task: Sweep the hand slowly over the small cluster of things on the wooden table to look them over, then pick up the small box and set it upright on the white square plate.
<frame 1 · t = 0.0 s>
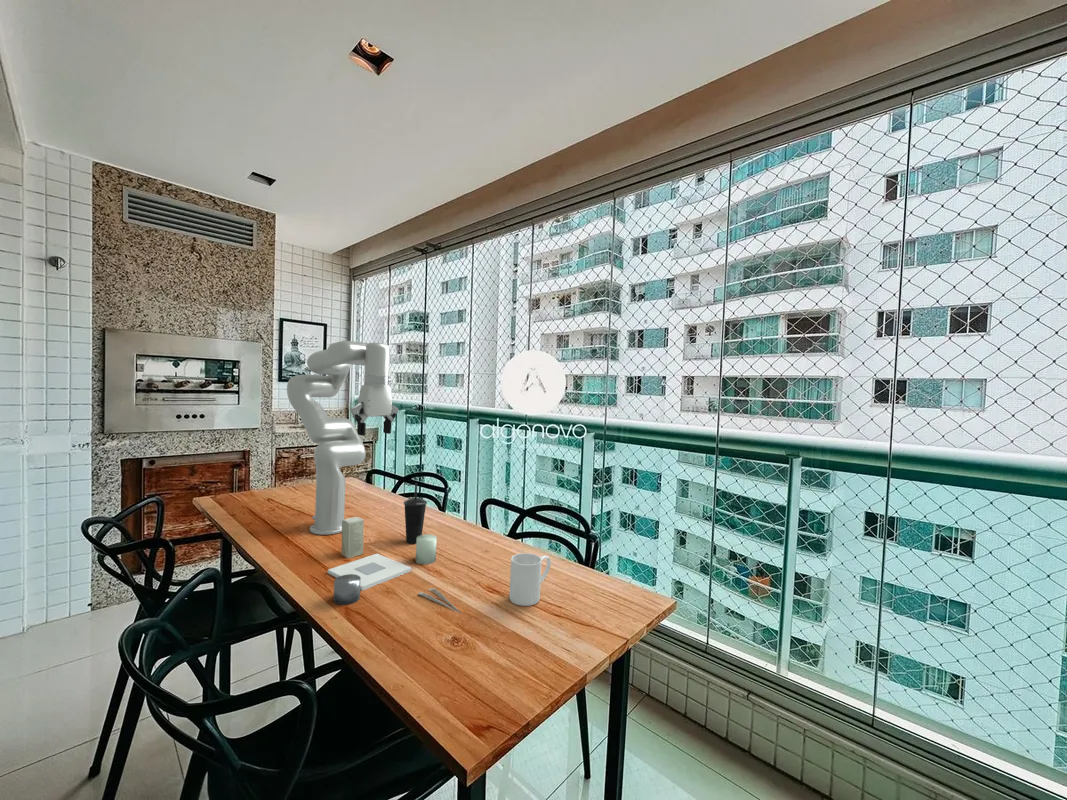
hand: (374, 434, 145), 37 cm above the table, tool pointing down, fingers open, 9 cm apart
white square plate: (370, 572, 126), on the table
drinking cup: (413, 542, 152), on the table
tweezers: (445, 607, 111), on the table
mug: (530, 597, 117), on the table
pale green capsule: (425, 560, 137), on the table
box: (351, 555, 138), on the table
dark tin: (346, 599, 111), on the table
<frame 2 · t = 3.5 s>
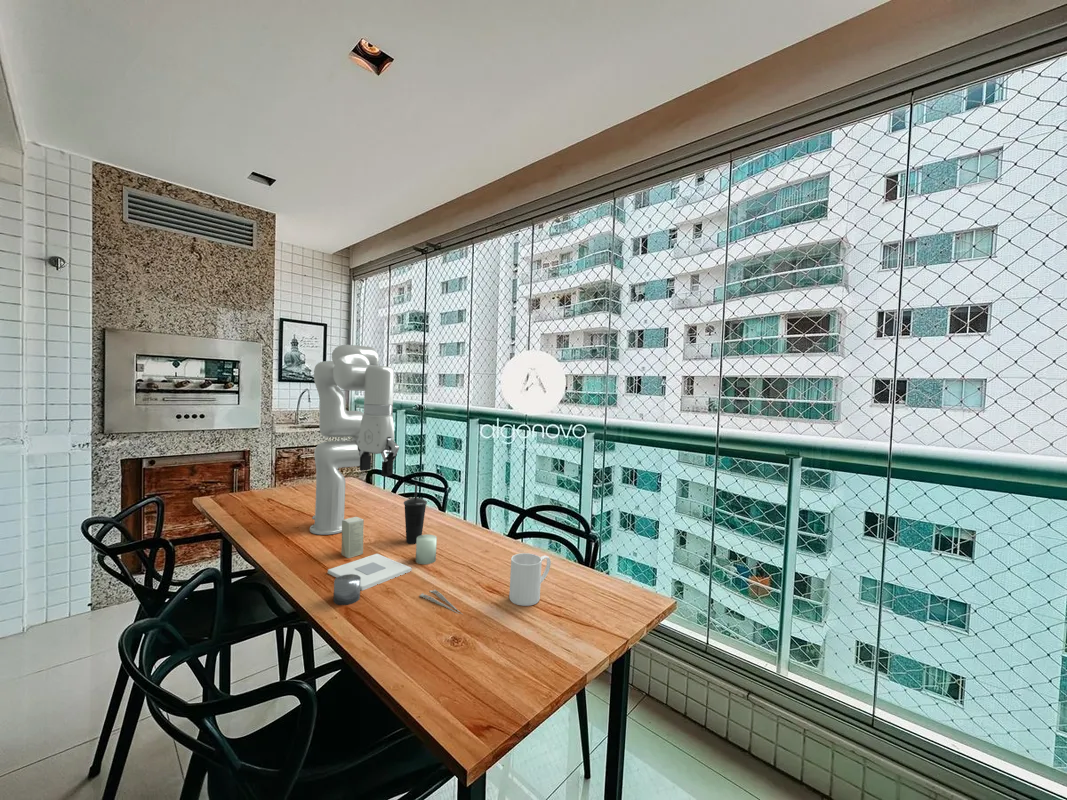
hand: (375, 472, 123), 29 cm above the table, tool pointing down, fingers open, 9 cm apart
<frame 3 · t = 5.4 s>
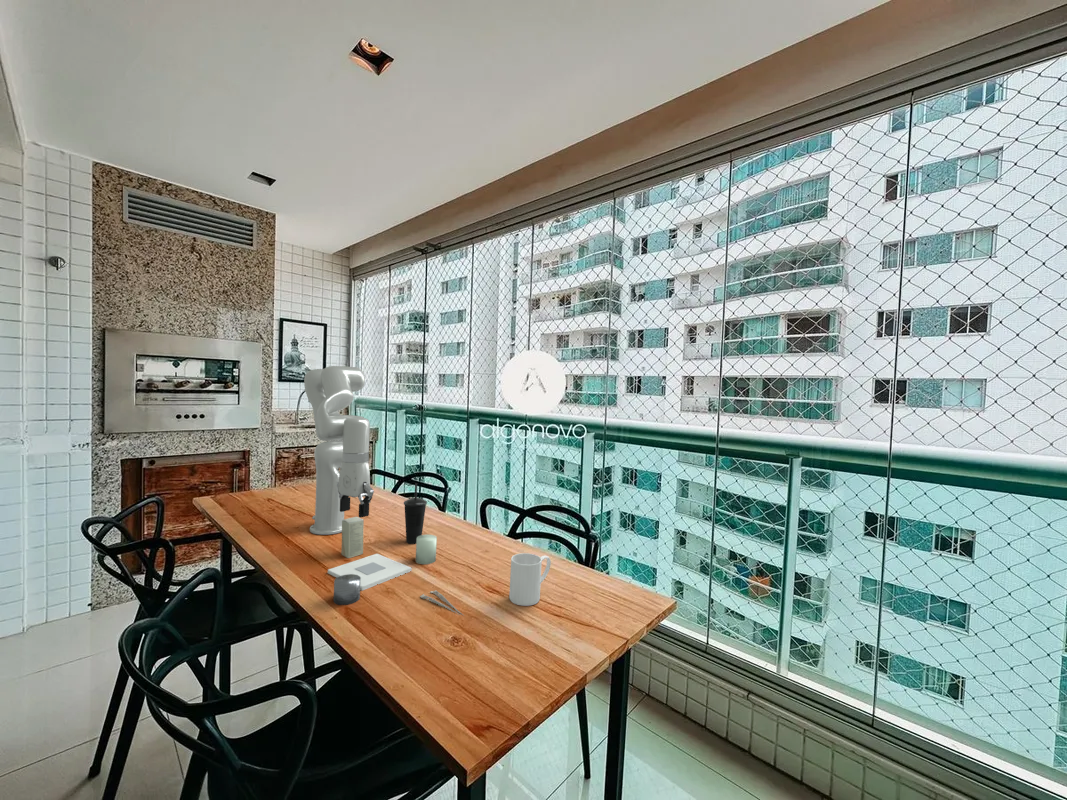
hand: (354, 513, 137), 13 cm above the table, tool pointing down, fingers open, 9 cm apart
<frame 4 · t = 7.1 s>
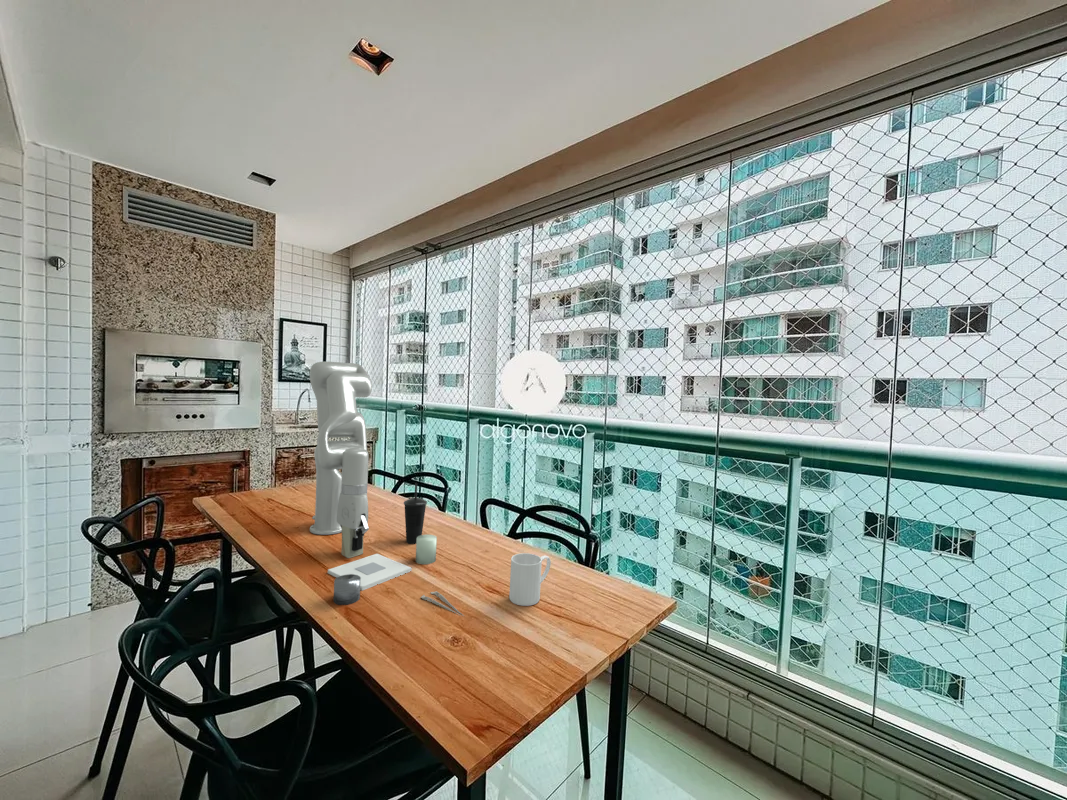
hand: (352, 546, 138), 2 cm above the table, tool pointing down, fingers closed on box, 4 cm apart
box: (351, 555, 138), on the table, touching gripper
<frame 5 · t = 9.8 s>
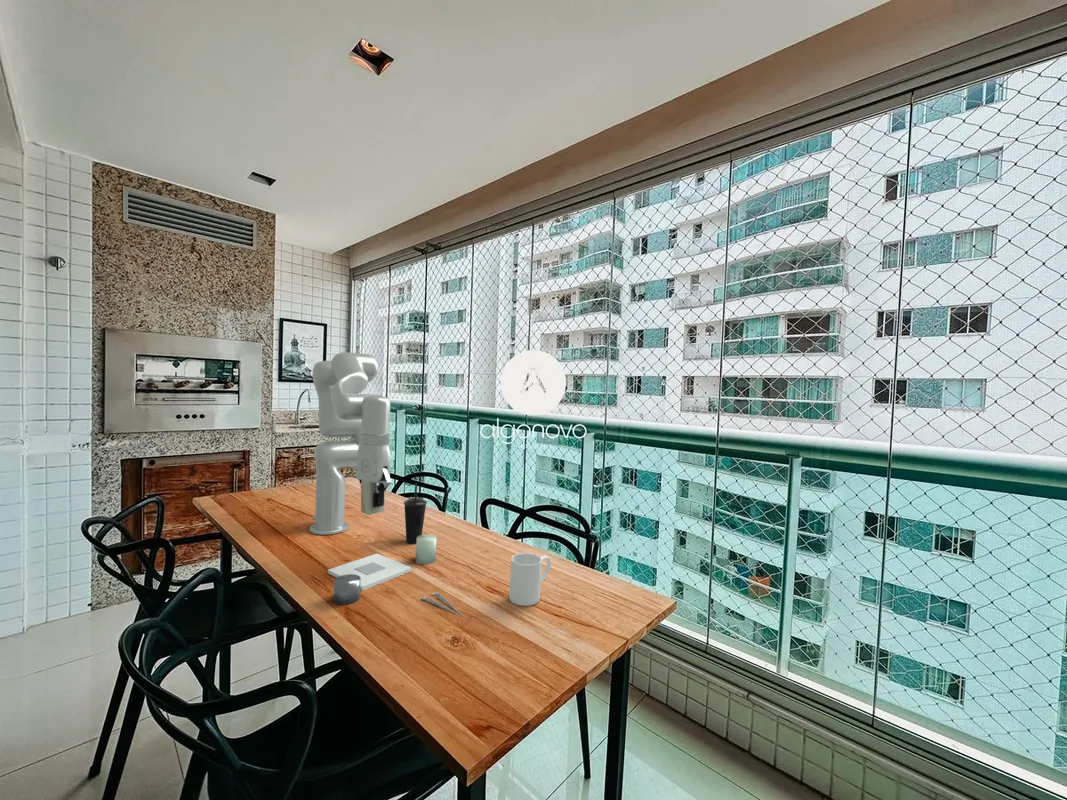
hand: (372, 503, 126), 19 cm above the table, tool pointing down, fingers closed on box, 4 cm apart
box: (372, 512, 126), point 17 cm above the table, touching gripper
when the fingers open (5 cm above the table, at t = 12.9 s): box drops 1 cm, resting on white square plate.
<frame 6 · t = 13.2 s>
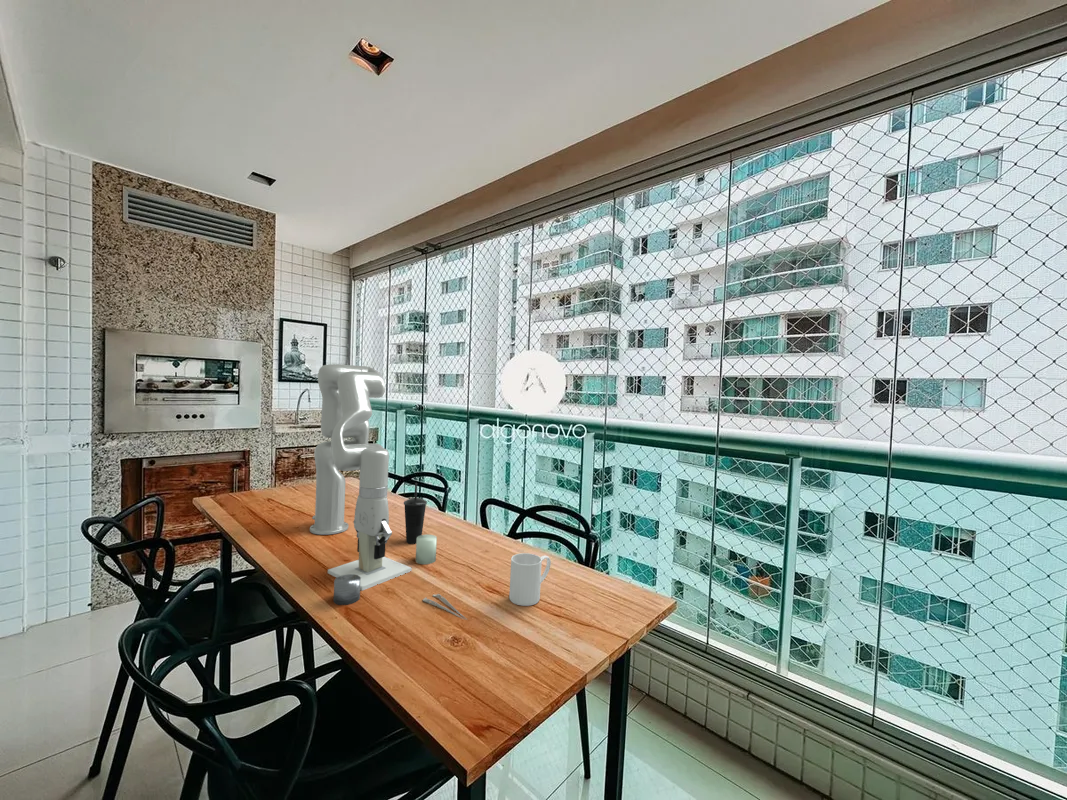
hand: (371, 553, 126), 5 cm above the table, tool pointing down, fingers open, 7 cm apart
box: (370, 568, 126), point 1 cm above the table, touching white square plate
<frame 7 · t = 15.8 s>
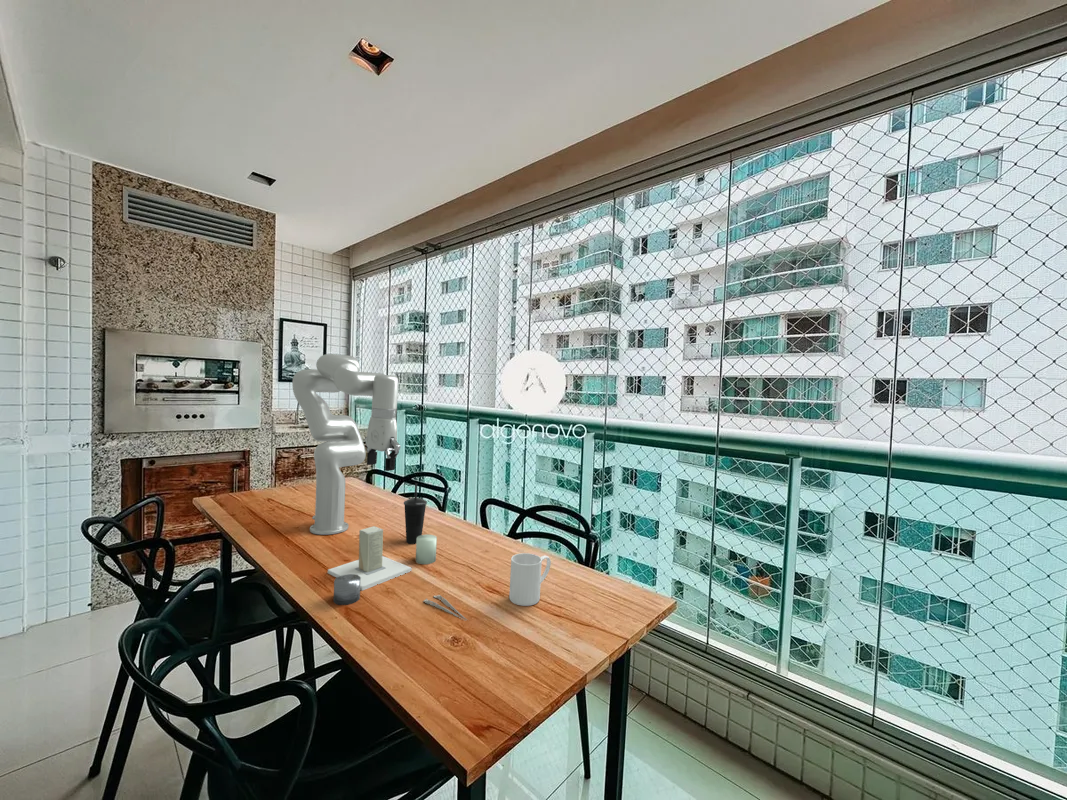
hand: (380, 467, 142), 27 cm above the table, tool pointing down, fingers open, 9 cm apart
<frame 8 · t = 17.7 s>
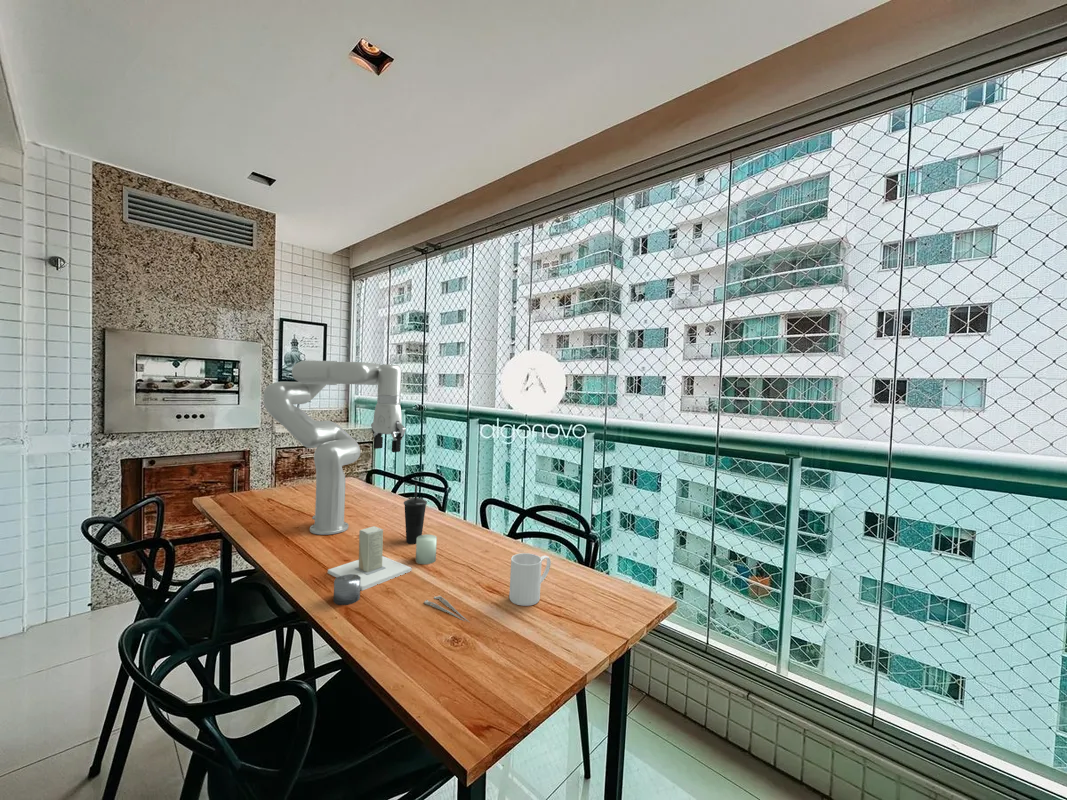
hand: (386, 450, 154), 30 cm above the table, tool pointing down, fingers open, 9 cm apart
at the end: box inside the target area on the white square plate (0.2 cm from its centre), point 1.0 cm above the white square plate's base; box tilted 0°; the gripper is holding nothing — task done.
